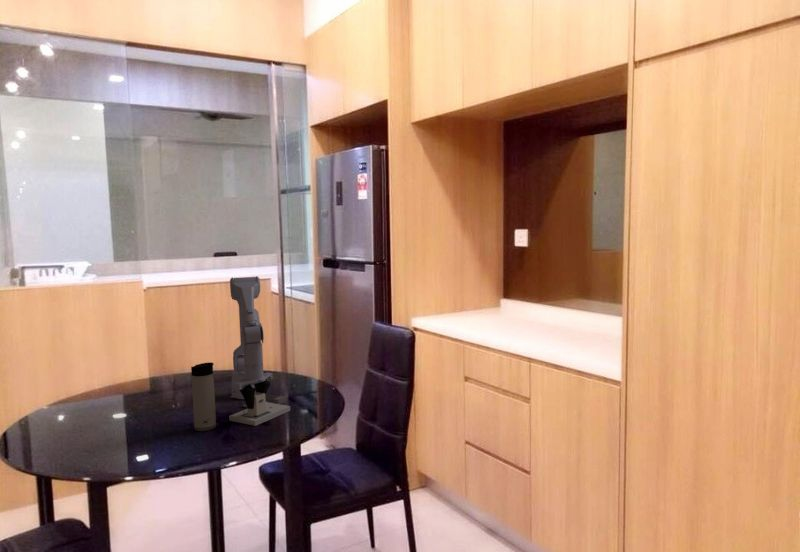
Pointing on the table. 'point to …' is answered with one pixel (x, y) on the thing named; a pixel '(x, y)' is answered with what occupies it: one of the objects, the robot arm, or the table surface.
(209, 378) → the travel mug
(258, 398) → the block
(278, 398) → the cable plug
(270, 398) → the phone
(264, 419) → the outlet plate
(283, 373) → the table surface
